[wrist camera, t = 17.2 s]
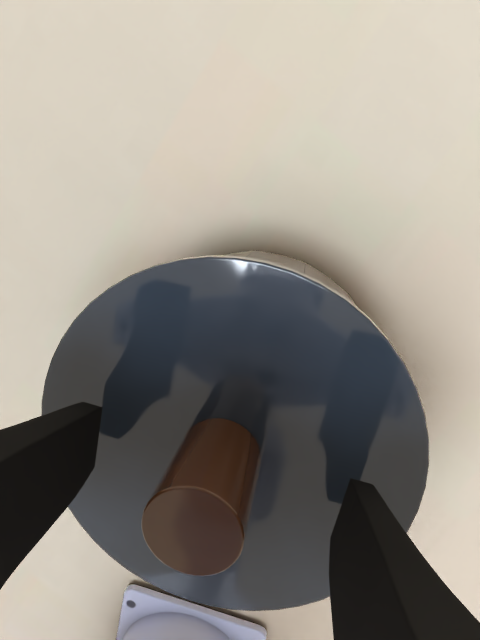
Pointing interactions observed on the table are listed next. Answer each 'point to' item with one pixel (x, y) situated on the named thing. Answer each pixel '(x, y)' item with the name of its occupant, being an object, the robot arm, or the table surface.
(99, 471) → the lid
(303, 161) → the table surface
